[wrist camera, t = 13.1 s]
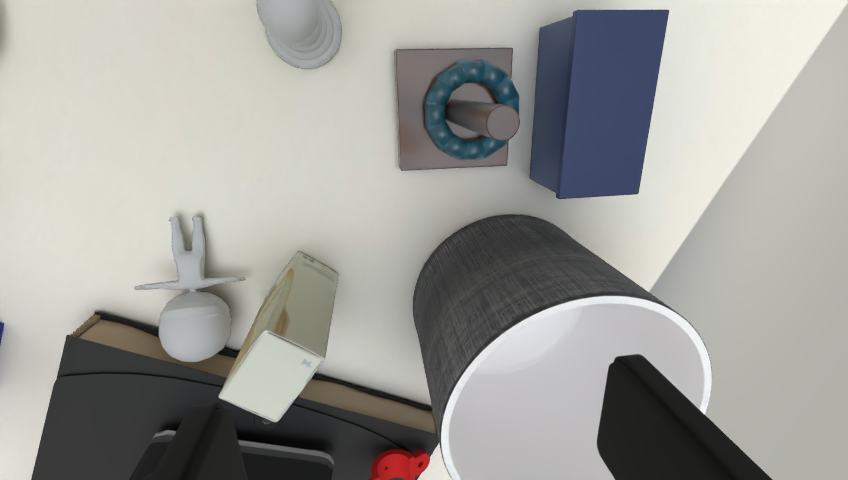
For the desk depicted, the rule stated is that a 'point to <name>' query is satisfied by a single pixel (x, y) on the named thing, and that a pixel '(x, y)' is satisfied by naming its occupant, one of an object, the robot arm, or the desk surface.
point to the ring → (441, 93)
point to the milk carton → (0, 329)
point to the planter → (536, 349)
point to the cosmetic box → (284, 340)
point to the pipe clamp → (399, 464)
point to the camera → (252, 460)
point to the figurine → (192, 302)
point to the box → (595, 101)
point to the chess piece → (301, 30)
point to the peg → (449, 107)
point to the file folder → (192, 385)
